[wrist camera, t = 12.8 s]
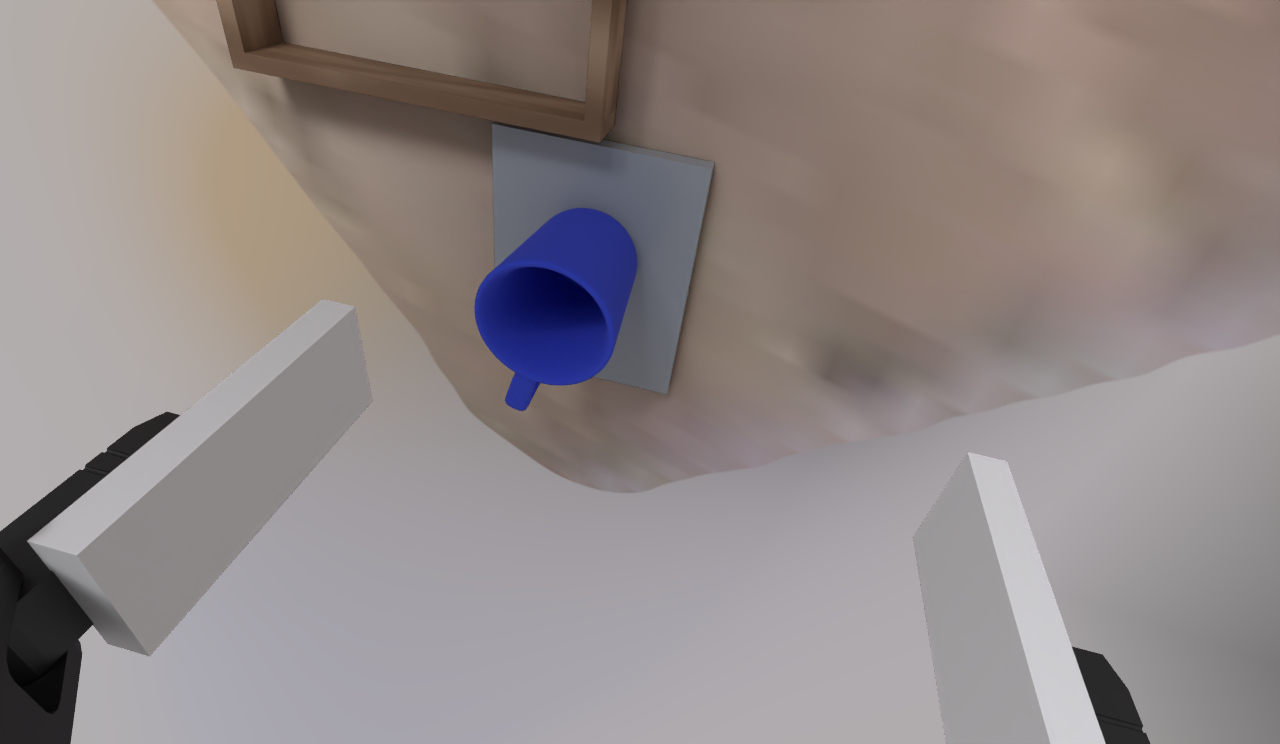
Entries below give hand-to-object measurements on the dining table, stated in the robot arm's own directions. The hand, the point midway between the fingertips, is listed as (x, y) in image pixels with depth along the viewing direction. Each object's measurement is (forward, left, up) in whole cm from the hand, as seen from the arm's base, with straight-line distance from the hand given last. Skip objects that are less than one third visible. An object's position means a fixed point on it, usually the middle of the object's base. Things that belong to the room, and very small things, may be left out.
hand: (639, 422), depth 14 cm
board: (+13, -8, -29) cm, 33 cm away
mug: (+13, -9, -28) cm, 32 cm away
